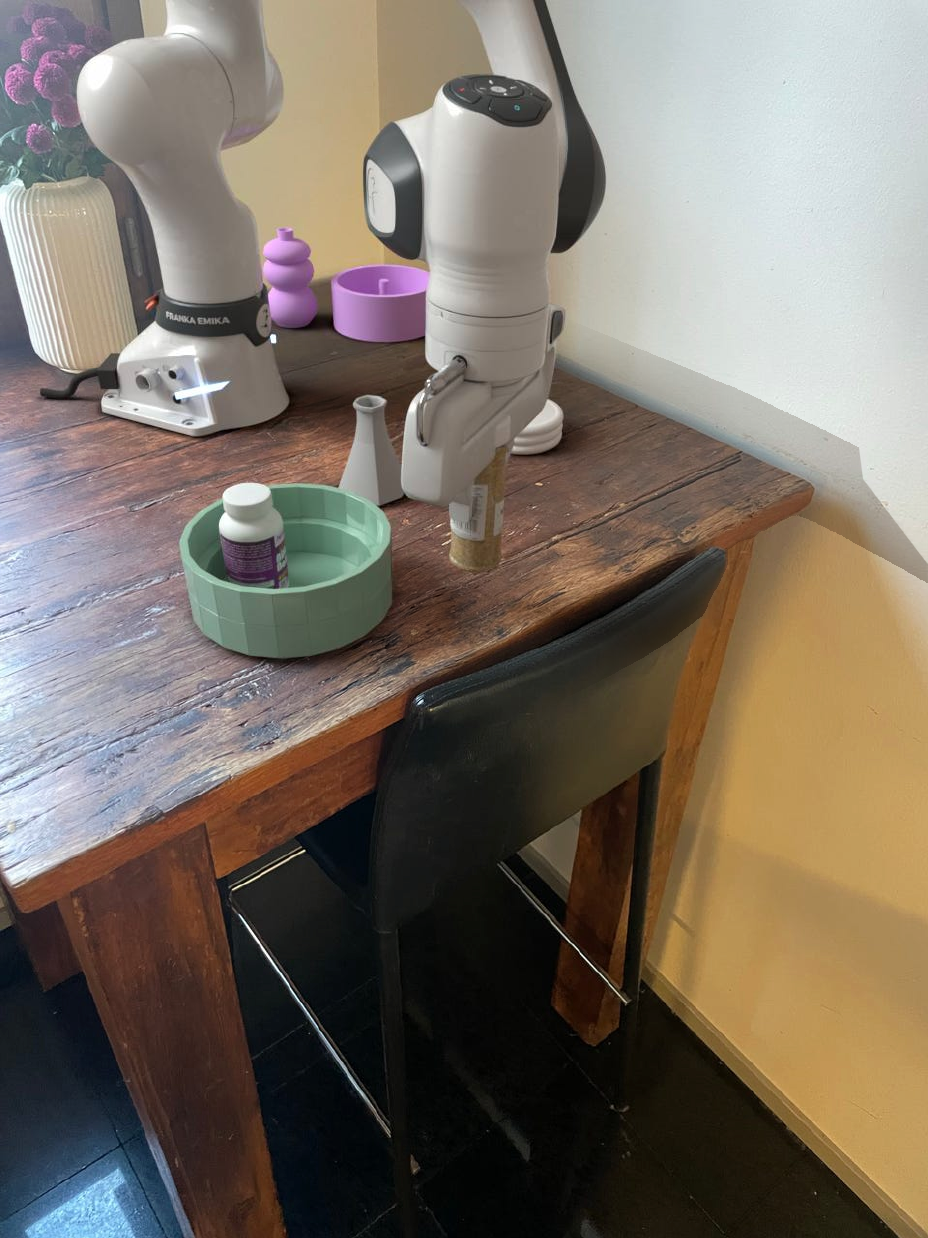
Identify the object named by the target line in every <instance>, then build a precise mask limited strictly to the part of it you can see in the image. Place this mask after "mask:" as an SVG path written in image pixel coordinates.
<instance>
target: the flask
mask: <svg viewBox="0 0 928 1238" xmlns="http://www.w3.org/2000/svg"><path fill="white" fill-rule="evenodd" d="M387 404H388V400H387V399H386V398H383V397H382V396H379V395H371V394H366V395H362V396H360V397H359V396H358V397H357V398H355V400H354V401H353V402H352V407H353V408H354V409H355V411H356V426H355V433H354V439H353V442H352V446H351V449H350V452H349V456H348V458H347V462H346V465H345V467H344V470H343V473H342V476H341V479H340V481H339V484H338V485H339V486H338V488H340V489H344V490H348V491H351V492H353V493H355V494H358V495H360V496H362V497H364V498H366V499H368V500H370V501H371V502H373V503H374V504H375V505H376V506H377V507H380V506H382V505H385V504H388V503H390V502H393V501H396V500H398V499H401V498H403V496H404V495H405V492H404V491H403V489H402V486H401V469H402V463H401V462H400V459H399V458H398V456H397V453H396V451H395V448H394V446H393V444H392V441H391V438H390V436H389V433H388V428H387V424H386V418H385V408H386V407H387V406H388V405H387Z"/></svg>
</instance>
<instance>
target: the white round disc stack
mask: <svg viewBox="0 0 928 1238" xmlns="http://www.w3.org/2000/svg"><path fill="white" fill-rule="evenodd" d="M563 420H564V411H563V409H562V408H561V407H560V406H559V405H558V404H557V403H556V402H554V401H553V400H551V399H549V398H548V399H547V402H546V404H545V407H544V409H543V410H542V411H541V412H540V413H539V414H538V415H537V416H536V417H535V418H534V419H533V420H532V421H531V422H530V423H529V424H528V425H527V426H526V427H525V428H524V429H523V430H522V431H521V433H520V434H519V435H518V436H517V437H516V438H515V439H514V445H513V448H512V451H511V454H510V455H520V456H522V455H523V456H527V455H536V454H540V453H544V452H548V451H549V450H551V449H553V448H555V447H556V446H557V445H558V444H559V443H560V442H561V439H562V436H563V431H562V430H563V427H564V426H563V425H564V424H563Z"/></svg>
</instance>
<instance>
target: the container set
mask: <svg viewBox="0 0 928 1238" xmlns="http://www.w3.org/2000/svg"><path fill="white" fill-rule="evenodd" d="M276 232H277V233H276V234H277V237H276V238H273V239H270V240H269V241H268V242H267V243H266V244H265V245H264V246H263V249H262V254H263V256H264V258H265V260H266V261H265V262H264V264H263V267H262V275H263V276H264V279H265V280H266V282H267V283H268V284H269V285H271V286H272V288H271V289H269V292H268V299H269V307H270V313H271V320H272V321H273V322H274V323H275V324H276V325H277V326H279V327H282V328H287V329H298V328H304V327H306V326H308V325H310V324H311V322H312V321H313V320H314V318H315V317H316V315H317V312H318V306H319V305H318V300H317V296H316V295H315V293H314V291H313V290H312V289H311V288H310V287H309V286H308V285H309V284H310V283H311V282H312V280H313V278H314V276H315V267H314V264H313V263H312V261H311V260H310V259H309V258H310V256H311V253H312V249H311V247H310V245H309V244H308V243H307V242H306V241H304V240H303V239H301V238H298V237H294V229H293V228H292V227H279V228H277V229H276ZM429 276H430V271H427V270H424V269H422V268H418V267H414V266H408V265H401V264H368V265H360V266H354V267H351V268H346V269H343V270H341V271H339V272H337V273H335V274H334V275H333V276H332V277H331V279H330V290H331V291H330V292H331V304H332V305H331V306H332V319H333V328H334V329H335V331H337V332H338V333H339V334H341V335H343V336H344V337H347V338H350V339H353V340H358V341H363V342H370V343H371V342H373V343H397V342H405V341H406V342H407V341H411V340H415V339H419V338H422V337H425V330H426V290H427V286H428V282H429Z"/></svg>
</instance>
